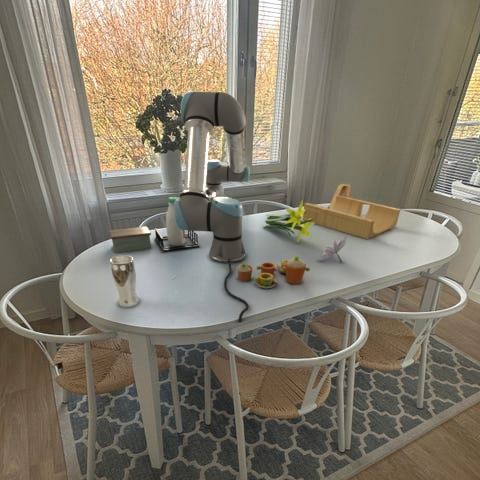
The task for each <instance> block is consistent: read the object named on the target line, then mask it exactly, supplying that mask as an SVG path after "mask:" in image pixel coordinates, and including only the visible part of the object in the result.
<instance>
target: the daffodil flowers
mask: <svg viewBox="0 0 480 480" xmlns="http://www.w3.org/2000/svg"><path fill="white" fill-rule="evenodd" d="M303 201H304V200H301V201H300V203H299V205H298V207H297V210H296V211H295V210H293V209H291V208H285V210H286V212H287V213H286V214H266V215H265V216H266V219H265V220H264V222H265V224H267V225H264V226H263V225H262V227H263V229H279V230H281V231H285V232H287V233H288V235H289V237H290V238H291V233H292V234H294V235H296V233H295V232H294V231H293V230H295V231H298V233H297V243H299V241H300V239H301V236H302V235H304V236H305V237H311V232H310V230H308V228H309V227H311V226H313V225H315V224H316V223H315V222H313V223H312V222H310V221H312V220H313V219H309V220H307V221H306V220H303V221H302V217H303V214H304V213H306V212H305V209H304V202H303Z"/></svg>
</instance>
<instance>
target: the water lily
mask: <svg viewBox="0 0 480 480" xmlns="http://www.w3.org/2000/svg"><path fill="white" fill-rule="evenodd" d="M347 238H348V235H346V236H345V237H344V238H343V239H339V241H338V240H337V239H334V241H333V246H325V247H324V249H322V251H323V252H322V254H323V255H321V256H320V257H321V259H319V262H322V261H325V260H327V259H330V258H331V257H332V256H335V255H336V256H337V257H338V260H339V262H340V263H343V260H342V258H341V256H340V254H339V253H338V252H339V251H341V250H342V249H343V248H344V247H345V245H346V244H347V242H348V241H347Z"/></svg>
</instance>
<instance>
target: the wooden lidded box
mask: <svg viewBox="0 0 480 480" xmlns="http://www.w3.org/2000/svg"><path fill="white" fill-rule="evenodd" d="M108 232H109V235H110V238H111V243H112V246H113V249H114V252H115V254H117V253H126V252H134V251H140V250H148V249H150V250H151V249H152V244H151V235H152V233H151V231H150V229H149V228H148V226H138V227H137V226H136V227H128V228H119V229H118V228H117V229H109V230H108Z"/></svg>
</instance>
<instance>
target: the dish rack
mask: <svg viewBox="0 0 480 480" xmlns="http://www.w3.org/2000/svg"><path fill="white" fill-rule="evenodd" d="M154 233H155V237H154V240H155V241H156V243H157V245H158V246H159V248H160V249H161V251H162V253H169V252H176V251H182V250H183V251H184V250H190V249H198V248H200V245H199V240H198V237H199V236H198V233H197V231H188V230H187V233H186V232H185V239H187V238H188V239H190V241H191V242H192V243H190V244H183V245H180V246H167V247H165V244H164V241H168V237H167V235H161V233H160V232H159V230H158V228H157V227H156V228H155V227H154Z"/></svg>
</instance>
